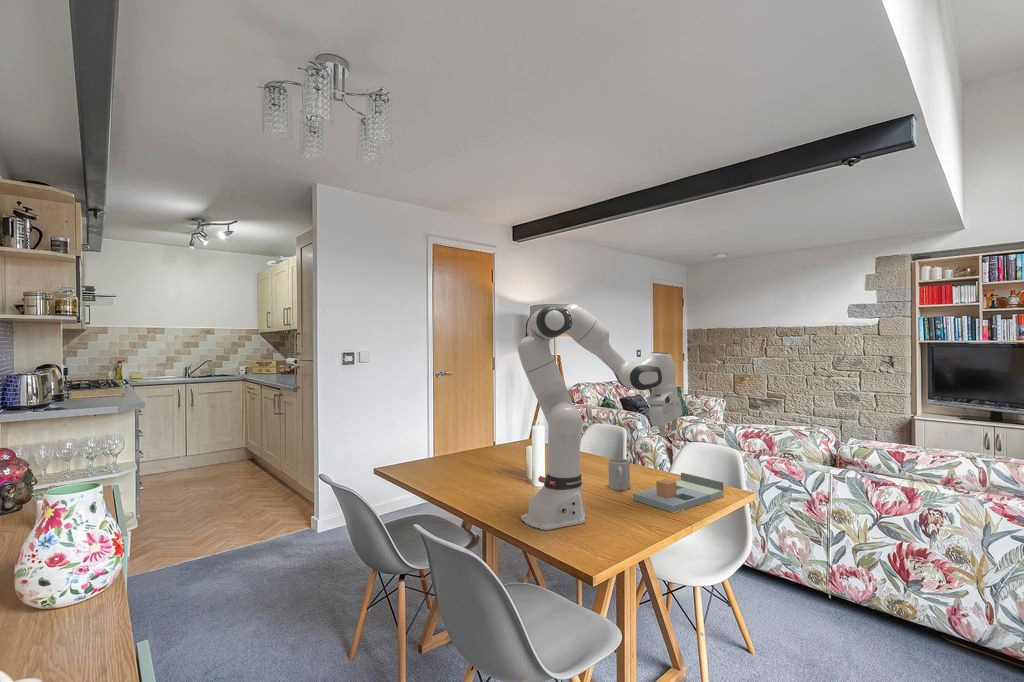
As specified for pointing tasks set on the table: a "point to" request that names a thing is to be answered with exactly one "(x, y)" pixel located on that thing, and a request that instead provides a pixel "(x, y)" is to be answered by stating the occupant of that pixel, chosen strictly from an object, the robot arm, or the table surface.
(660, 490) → the block
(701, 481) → the platform
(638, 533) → the table surface
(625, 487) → the mug
